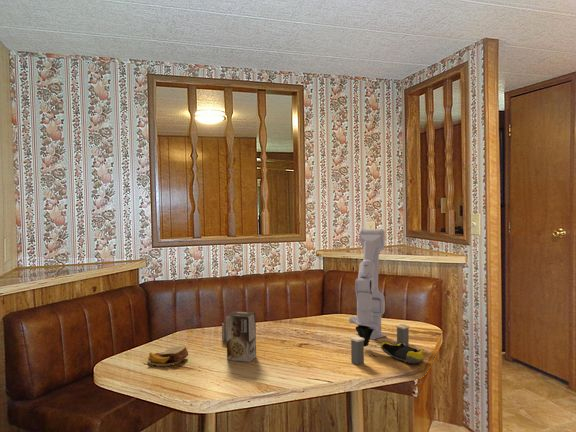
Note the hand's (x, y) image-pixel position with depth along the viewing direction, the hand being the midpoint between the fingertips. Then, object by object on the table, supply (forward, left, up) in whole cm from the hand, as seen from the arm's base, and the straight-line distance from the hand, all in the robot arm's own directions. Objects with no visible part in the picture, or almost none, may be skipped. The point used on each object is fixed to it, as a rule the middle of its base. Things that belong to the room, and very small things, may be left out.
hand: (365, 345), depth 163 cm
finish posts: (+8, 0, -2) cm, 8 cm away
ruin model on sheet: (-41, -32, -2) cm, 52 cm away
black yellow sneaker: (+16, +3, -2) cm, 16 cm away
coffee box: (-21, -41, -2) cm, 46 cm away
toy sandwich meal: (-35, -63, -2) cm, 72 cm away
